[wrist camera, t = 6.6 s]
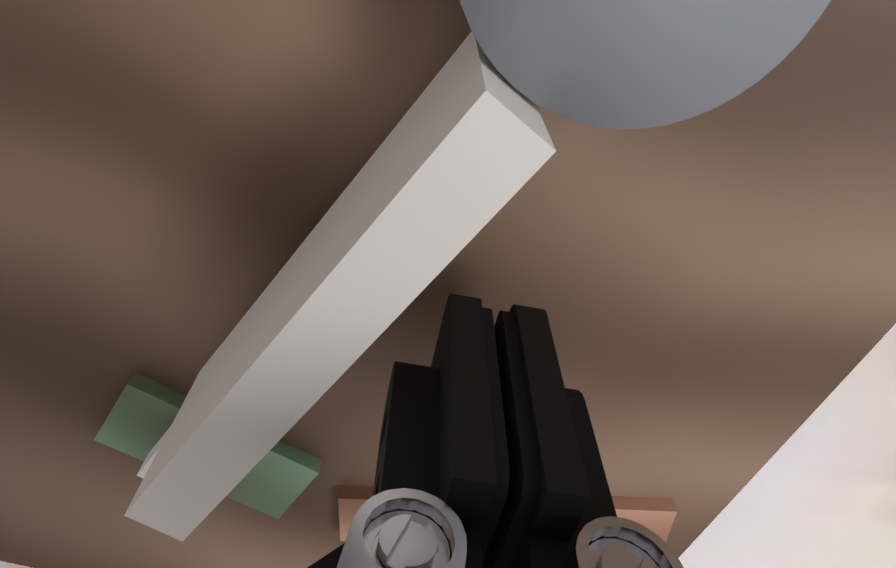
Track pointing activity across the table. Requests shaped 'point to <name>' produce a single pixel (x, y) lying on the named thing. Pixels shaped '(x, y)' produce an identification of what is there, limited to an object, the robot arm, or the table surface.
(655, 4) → the ball-knob lever
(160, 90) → the dial board
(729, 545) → the table surface
